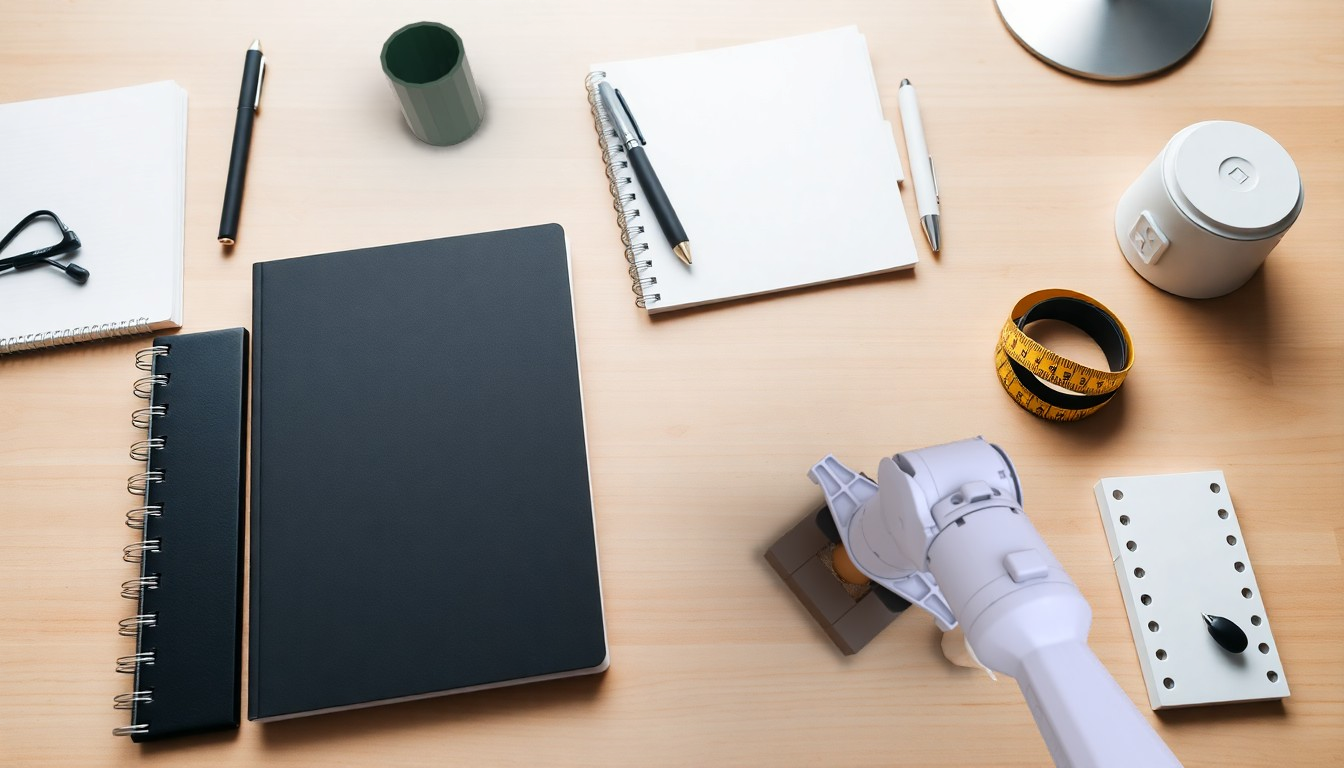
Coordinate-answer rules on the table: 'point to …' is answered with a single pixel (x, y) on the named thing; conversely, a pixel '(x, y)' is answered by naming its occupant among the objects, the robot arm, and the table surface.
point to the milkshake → (961, 650)
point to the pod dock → (826, 588)
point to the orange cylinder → (847, 567)
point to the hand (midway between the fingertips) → (860, 557)
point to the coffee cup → (433, 82)
